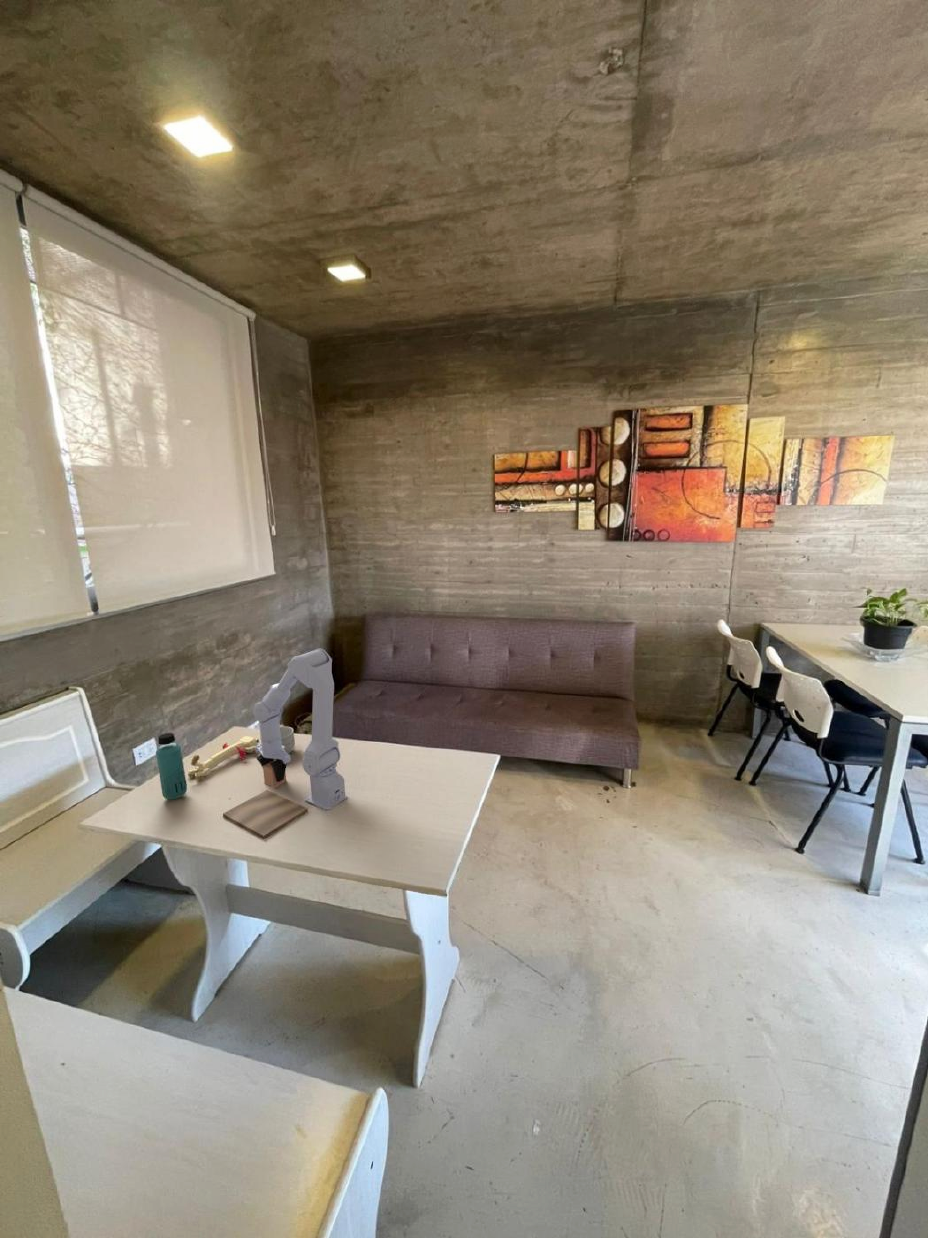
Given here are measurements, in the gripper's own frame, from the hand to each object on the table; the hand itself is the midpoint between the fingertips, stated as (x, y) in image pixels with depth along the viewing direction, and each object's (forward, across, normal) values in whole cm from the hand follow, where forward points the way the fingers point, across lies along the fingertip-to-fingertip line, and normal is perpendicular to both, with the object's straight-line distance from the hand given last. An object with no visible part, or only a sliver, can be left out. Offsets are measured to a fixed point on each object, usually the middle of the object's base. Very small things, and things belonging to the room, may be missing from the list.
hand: (275, 778), depth 151 cm
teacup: (+2, +16, -14) cm, 21 cm away
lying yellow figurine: (+2, +25, 0) cm, 25 cm away
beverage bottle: (+2, +18, +21) cm, 28 cm away
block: (+1, 0, 0) cm, 1 cm away
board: (+1, -12, +12) cm, 17 cm away
